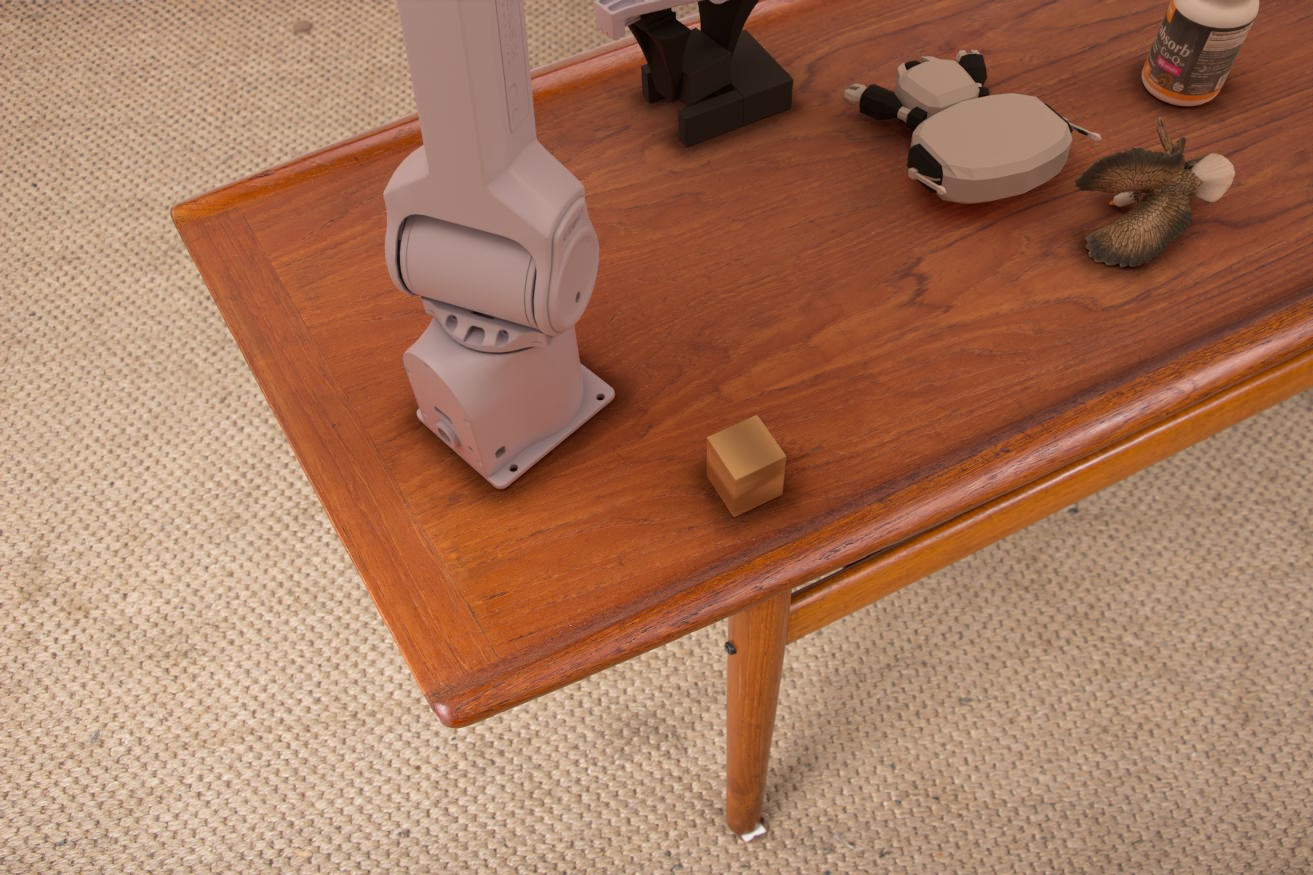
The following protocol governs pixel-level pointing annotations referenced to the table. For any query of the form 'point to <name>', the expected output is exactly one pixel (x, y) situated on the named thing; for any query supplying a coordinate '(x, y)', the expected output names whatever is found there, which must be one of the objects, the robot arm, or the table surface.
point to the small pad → (703, 67)
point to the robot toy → (970, 130)
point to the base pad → (733, 94)
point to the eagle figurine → (1151, 197)
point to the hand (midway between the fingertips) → (691, 81)
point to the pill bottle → (1196, 49)
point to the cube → (745, 465)
